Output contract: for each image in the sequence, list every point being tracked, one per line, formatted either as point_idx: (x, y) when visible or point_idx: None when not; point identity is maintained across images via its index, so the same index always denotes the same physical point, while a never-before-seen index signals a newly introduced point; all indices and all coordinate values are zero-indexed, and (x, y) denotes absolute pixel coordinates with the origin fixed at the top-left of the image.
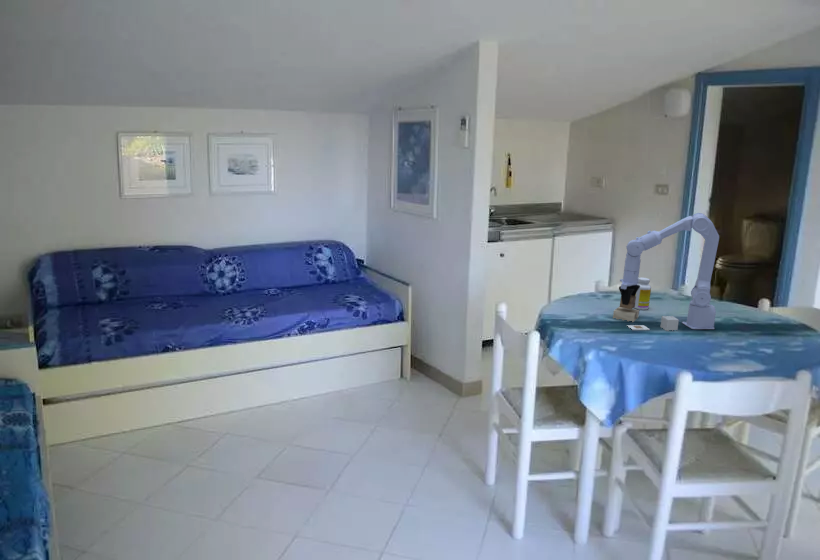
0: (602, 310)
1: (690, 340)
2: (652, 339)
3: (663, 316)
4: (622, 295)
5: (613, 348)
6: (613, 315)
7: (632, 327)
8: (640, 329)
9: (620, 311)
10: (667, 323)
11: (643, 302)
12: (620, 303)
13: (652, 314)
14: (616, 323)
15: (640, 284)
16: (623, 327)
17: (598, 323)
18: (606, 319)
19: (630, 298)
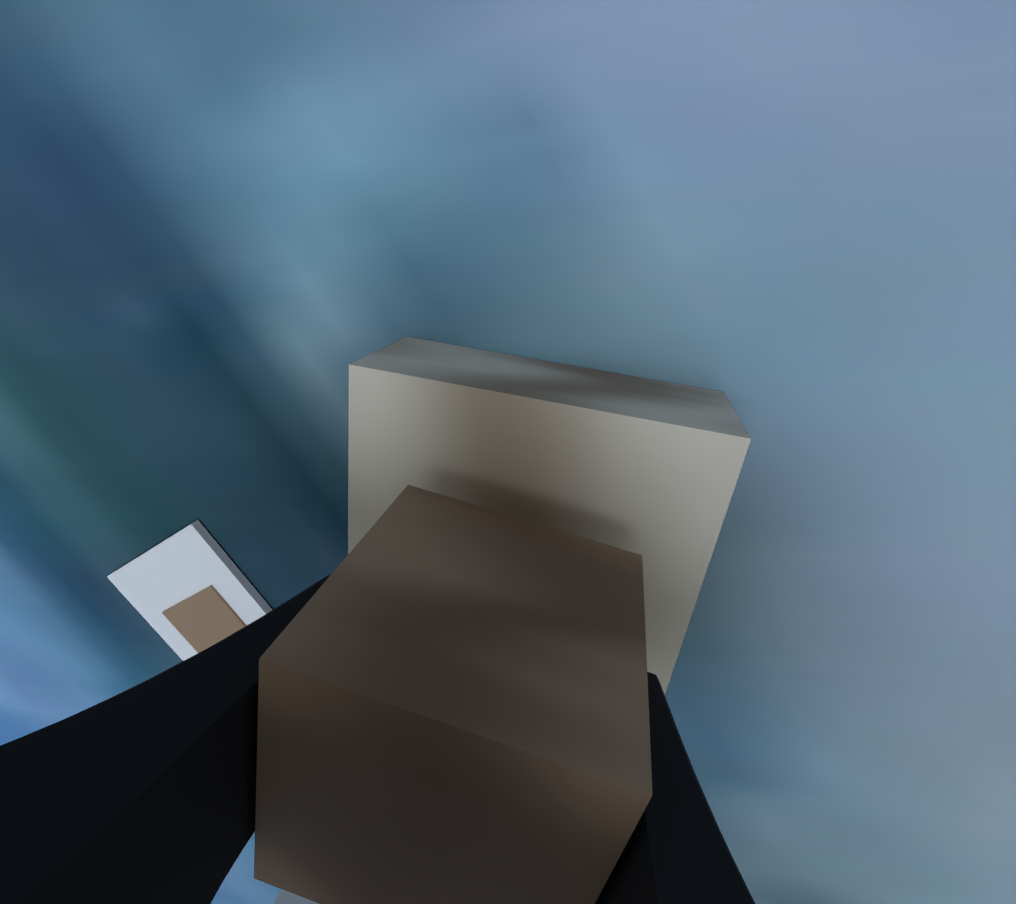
0: (847, 51)
1: (214, 900)
2: (27, 699)
3: None
4: (112, 733)
5: None
6: (389, 349)
7: (162, 578)
8: (168, 642)
9: (376, 478)
10: (280, 895)
11: None
12: (374, 530)
13: (901, 803)
14: (207, 407)
15: None
16: (128, 490)
17: (26, 177)
18: (283, 253)
19: (261, 840)
